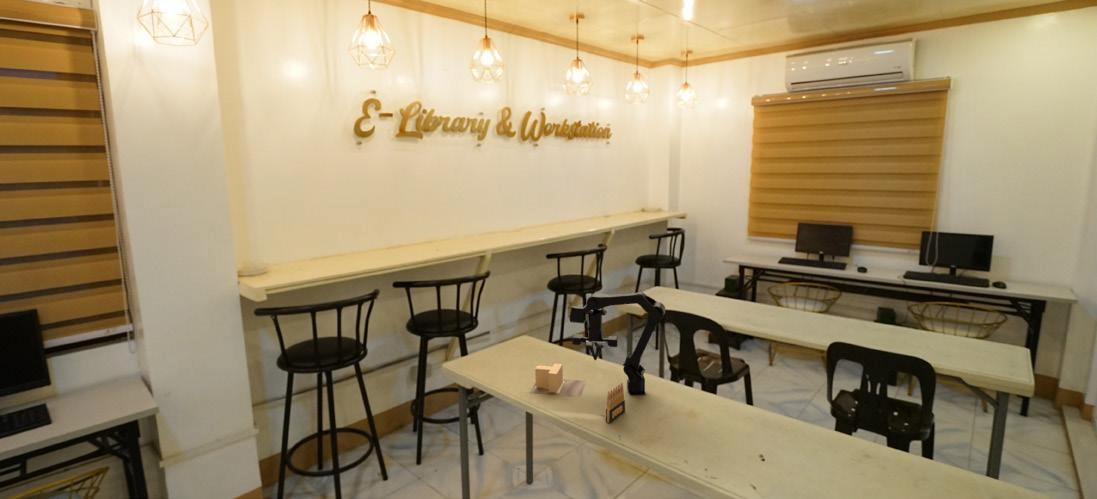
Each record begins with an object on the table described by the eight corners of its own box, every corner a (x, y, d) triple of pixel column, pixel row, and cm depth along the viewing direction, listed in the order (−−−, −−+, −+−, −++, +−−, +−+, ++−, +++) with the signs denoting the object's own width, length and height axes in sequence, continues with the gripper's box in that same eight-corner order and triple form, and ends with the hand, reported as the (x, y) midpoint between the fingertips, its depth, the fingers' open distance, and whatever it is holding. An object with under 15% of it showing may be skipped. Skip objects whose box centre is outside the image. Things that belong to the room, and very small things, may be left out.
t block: (562, 381, 221) (562, 364, 220) (557, 392, 211) (556, 373, 210) (540, 379, 224) (539, 362, 222) (533, 390, 214) (532, 371, 213)
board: (586, 384, 222) (586, 380, 221) (580, 400, 207) (580, 396, 207) (538, 380, 226) (538, 377, 226) (529, 396, 212) (529, 392, 212)
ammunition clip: (609, 423, 189) (609, 393, 187) (605, 422, 190) (605, 391, 188) (625, 412, 197) (625, 382, 195) (621, 410, 198) (621, 381, 196)
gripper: (619, 319, 220) (619, 353, 222) (576, 317, 224) (576, 351, 226) (617, 327, 209) (617, 364, 212) (571, 325, 213) (572, 361, 216)
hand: (595, 359), depth 217 cm, fingers closed
